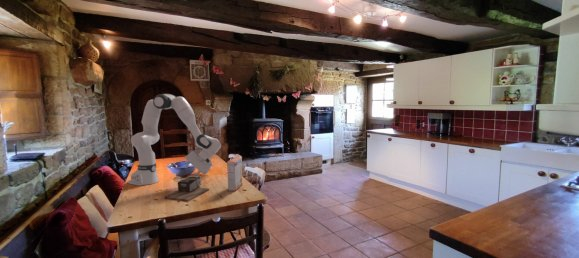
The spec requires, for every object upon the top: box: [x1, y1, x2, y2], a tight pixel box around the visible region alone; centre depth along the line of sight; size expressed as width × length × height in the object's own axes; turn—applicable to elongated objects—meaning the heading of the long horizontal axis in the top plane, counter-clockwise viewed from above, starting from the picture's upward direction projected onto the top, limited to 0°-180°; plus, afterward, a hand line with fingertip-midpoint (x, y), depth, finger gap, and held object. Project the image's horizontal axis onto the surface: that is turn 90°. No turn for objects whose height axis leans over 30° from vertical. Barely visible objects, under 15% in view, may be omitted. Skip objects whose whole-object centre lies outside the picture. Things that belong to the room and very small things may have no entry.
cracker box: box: [226, 156, 243, 192], centre depth 195 cm, size 14×6×21 cm, turn 170°
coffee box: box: [177, 175, 202, 192], centre depth 192 cm, size 9×6×16 cm
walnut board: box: [164, 186, 210, 202], centre depth 183 cm, size 18×22×1 cm
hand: (189, 171), depth 196 cm, fingers open, 8 cm apart
